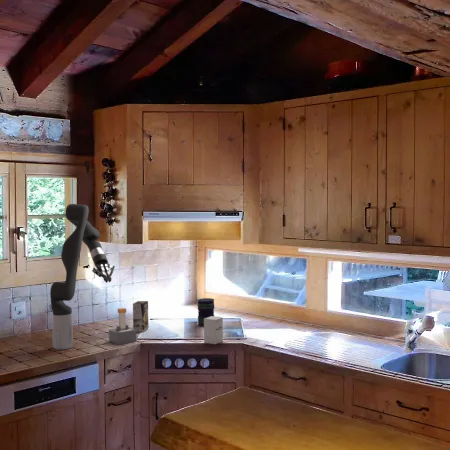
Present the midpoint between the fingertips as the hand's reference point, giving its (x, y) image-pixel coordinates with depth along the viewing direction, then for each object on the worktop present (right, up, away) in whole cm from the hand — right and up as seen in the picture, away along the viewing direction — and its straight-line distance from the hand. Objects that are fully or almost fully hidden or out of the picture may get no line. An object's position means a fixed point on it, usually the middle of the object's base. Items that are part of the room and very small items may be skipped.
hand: (108, 281), depth 305 cm
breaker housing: (+10, -30, -11) cm, 34 cm away
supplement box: (+58, -30, -16) cm, 67 cm away
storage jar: (+53, -28, +23) cm, 64 cm away
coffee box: (+16, -29, +13) cm, 36 cm away
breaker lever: (+10, -23, -12) cm, 28 cm away
